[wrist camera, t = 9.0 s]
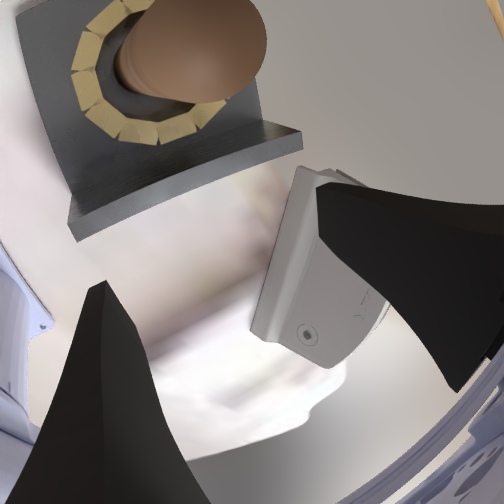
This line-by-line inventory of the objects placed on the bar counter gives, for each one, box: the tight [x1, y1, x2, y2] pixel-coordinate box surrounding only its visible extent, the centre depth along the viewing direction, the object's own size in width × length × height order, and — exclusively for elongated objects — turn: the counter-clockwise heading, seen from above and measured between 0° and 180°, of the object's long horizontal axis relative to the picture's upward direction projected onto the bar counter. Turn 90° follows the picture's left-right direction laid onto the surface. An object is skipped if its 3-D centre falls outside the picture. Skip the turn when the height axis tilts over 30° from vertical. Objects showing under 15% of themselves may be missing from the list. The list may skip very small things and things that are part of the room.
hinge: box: [250, 166, 391, 369], centre depth 24 cm, size 17×5×10 cm, turn 164°
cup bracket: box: [16, 0, 303, 242], centre depth 12 cm, size 12×12×5 cm
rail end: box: [113, 0, 267, 104], centre depth 9 cm, size 4×4×9 cm
